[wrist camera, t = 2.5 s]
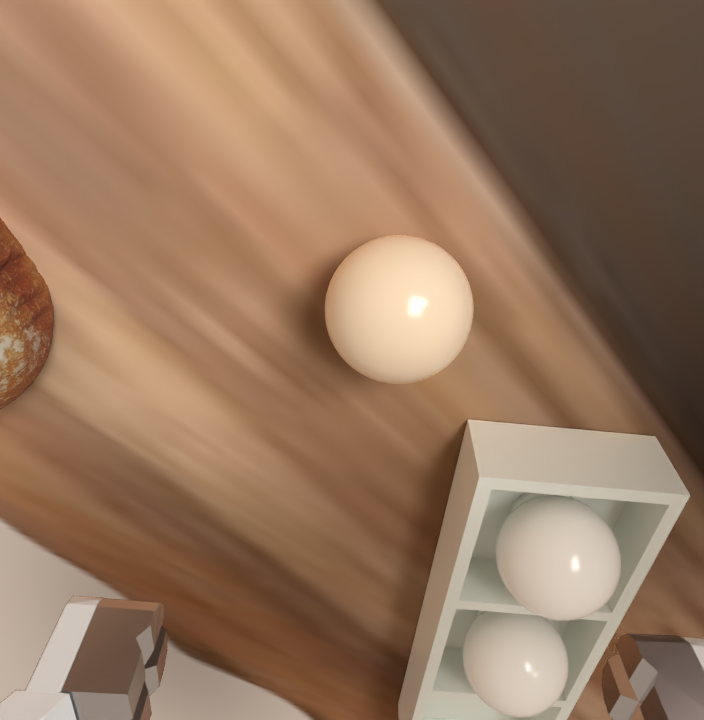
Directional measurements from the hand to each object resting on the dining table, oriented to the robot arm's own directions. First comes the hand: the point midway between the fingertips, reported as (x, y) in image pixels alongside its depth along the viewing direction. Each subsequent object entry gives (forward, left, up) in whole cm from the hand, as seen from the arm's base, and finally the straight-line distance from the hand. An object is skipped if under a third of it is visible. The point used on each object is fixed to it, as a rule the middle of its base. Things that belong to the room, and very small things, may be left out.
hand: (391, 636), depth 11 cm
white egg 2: (-8, +18, -13) cm, 24 cm away
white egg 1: (-8, +10, -13) cm, 19 cm away
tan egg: (0, 0, -14) cm, 14 cm away
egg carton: (-8, +18, -14) cm, 24 cm away
